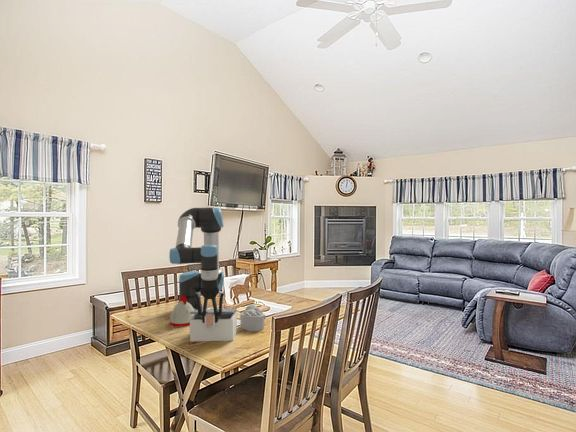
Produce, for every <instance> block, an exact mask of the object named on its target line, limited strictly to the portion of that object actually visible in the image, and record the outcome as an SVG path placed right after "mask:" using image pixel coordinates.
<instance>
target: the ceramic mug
mask: <svg viewBox="0 0 576 432" xmlns="http://www.w3.org/2000/svg"><path fill="white" fill-rule="evenodd" d="M250 309H254V310H257V309H260V308H259V307H258V306H256V305H255V304H249V305H248V306H246V308H245V310H250ZM261 312H262V310H261ZM262 313H263V312H262ZM266 317H267V315H266V314H264V320H265V319H266Z"/></svg>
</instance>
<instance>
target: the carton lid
mask: <svg viewBox="0 0 576 432" xmlns="http://www.w3.org/2000/svg"><path fill="white" fill-rule="evenodd" d="M217 310H218V311H219V308H217ZM237 310H238V309H237V308H222V313H234V312H235V311H237ZM202 312H203V308H202ZM237 312H238V311H237ZM190 314H198V310H195V311H192V312H190ZM213 316H214V309H213V308H211V309H208V308H207V309H206V325H213Z"/></svg>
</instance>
